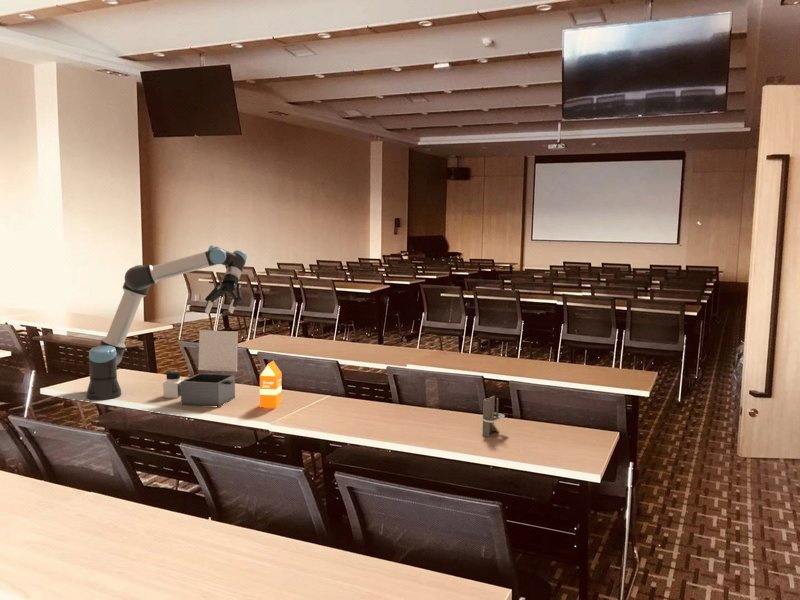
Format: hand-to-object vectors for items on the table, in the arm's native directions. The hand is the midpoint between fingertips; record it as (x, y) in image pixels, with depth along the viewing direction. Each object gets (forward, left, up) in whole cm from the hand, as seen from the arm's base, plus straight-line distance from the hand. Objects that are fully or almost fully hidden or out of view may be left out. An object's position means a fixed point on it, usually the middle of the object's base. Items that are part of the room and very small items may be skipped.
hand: (218, 312), depth 309 cm
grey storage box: (+16, -6, -40) cm, 43 cm away
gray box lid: (+7, -1, -18) cm, 20 cm away
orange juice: (+32, +20, -40) cm, 55 cm away
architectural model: (+103, +94, -40) cm, 145 cm away
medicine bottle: (0, -21, -40) cm, 45 cm away
